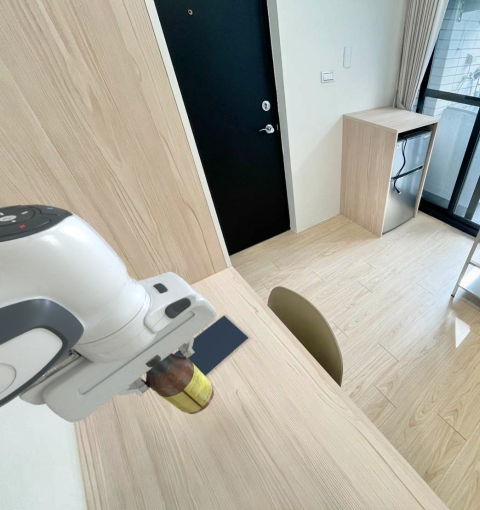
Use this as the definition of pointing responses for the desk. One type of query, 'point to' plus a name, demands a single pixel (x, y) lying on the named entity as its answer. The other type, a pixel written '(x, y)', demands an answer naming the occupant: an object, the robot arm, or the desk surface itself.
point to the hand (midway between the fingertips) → (167, 369)
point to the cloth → (215, 344)
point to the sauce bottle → (179, 383)
